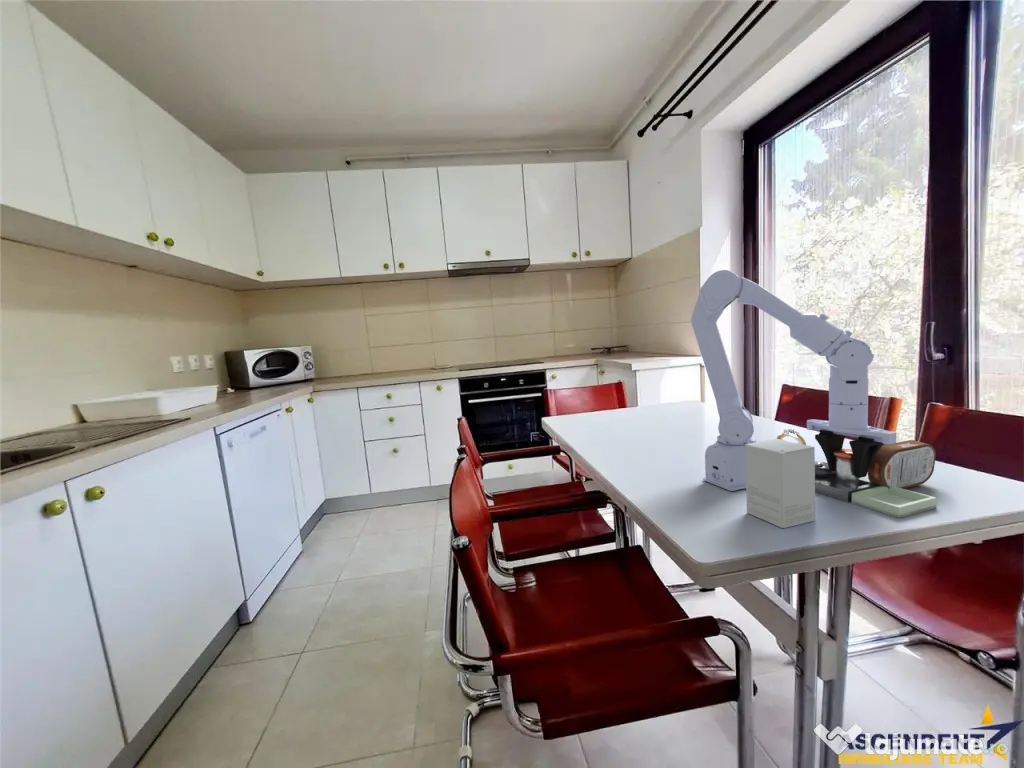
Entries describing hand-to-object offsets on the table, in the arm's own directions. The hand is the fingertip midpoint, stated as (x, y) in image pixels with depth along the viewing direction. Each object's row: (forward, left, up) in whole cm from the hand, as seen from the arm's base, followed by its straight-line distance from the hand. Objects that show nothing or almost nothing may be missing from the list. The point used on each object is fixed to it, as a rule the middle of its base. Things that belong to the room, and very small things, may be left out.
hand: (847, 473), depth 79 cm
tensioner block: (0, +3, -4) cm, 4 cm away
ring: (+7, +17, -4) cm, 19 cm away
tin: (+9, -3, -3) cm, 11 cm away
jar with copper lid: (0, 0, -4) cm, 4 cm away
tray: (0, -7, -4) cm, 8 cm away
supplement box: (-20, -3, -4) cm, 21 cm away
